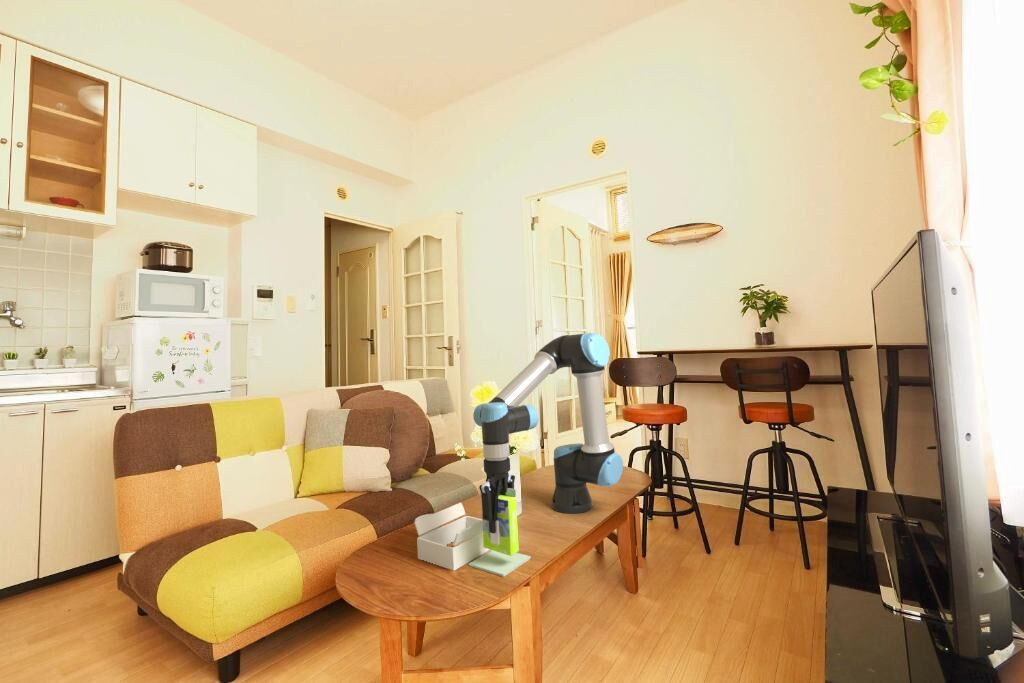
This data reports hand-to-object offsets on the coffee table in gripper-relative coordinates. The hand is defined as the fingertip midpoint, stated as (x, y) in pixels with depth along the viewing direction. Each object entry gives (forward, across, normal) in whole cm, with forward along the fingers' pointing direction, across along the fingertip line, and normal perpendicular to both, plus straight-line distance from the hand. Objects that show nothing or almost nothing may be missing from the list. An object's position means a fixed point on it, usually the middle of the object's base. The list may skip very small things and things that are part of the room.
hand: (500, 540), depth 131 cm
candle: (+7, -2, -32) cm, 33 cm away
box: (+3, 0, 0) cm, 3 cm away
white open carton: (+6, 0, -16) cm, 17 cm away
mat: (+6, 0, -1) cm, 6 cm away
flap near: (0, 0, -9) cm, 9 cm away
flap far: (0, 0, -23) cm, 23 cm away
